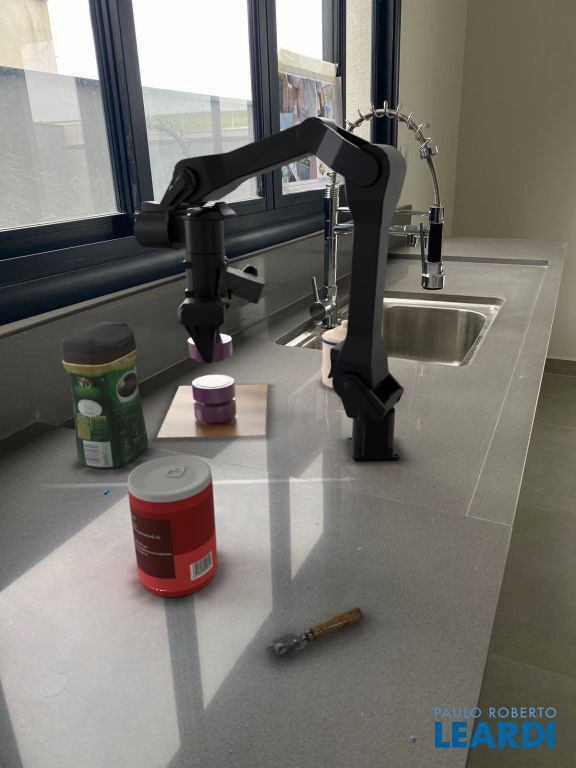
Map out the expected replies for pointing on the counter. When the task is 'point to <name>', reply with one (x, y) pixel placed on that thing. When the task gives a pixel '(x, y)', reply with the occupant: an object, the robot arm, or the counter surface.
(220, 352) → the purple hockey puck
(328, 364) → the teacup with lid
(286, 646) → the can opener
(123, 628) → the counter surface
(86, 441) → the coffee jar
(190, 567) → the canned food
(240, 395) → the placemat
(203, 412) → the plum dish bottom
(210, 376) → the purple puck
